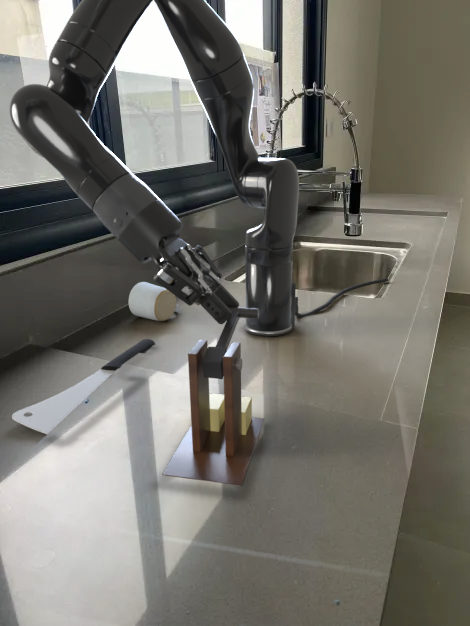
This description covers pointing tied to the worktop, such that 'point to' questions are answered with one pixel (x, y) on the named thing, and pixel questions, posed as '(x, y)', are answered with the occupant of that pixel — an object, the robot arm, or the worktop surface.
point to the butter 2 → (246, 413)
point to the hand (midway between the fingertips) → (230, 314)
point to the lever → (224, 343)
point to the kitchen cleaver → (73, 394)
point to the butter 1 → (216, 411)
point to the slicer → (209, 446)
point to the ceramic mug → (152, 302)
